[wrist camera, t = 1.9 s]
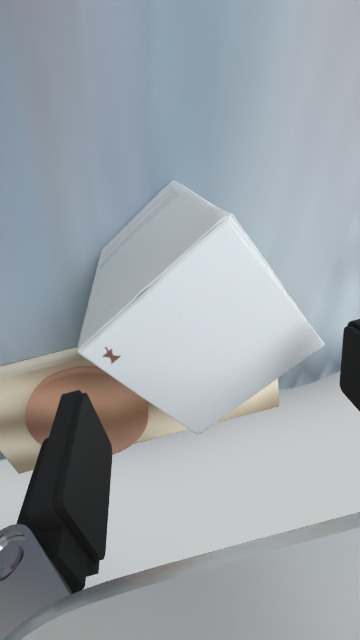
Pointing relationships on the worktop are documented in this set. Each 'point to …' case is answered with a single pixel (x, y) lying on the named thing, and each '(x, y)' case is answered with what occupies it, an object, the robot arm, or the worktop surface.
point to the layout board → (106, 397)
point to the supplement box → (191, 311)
